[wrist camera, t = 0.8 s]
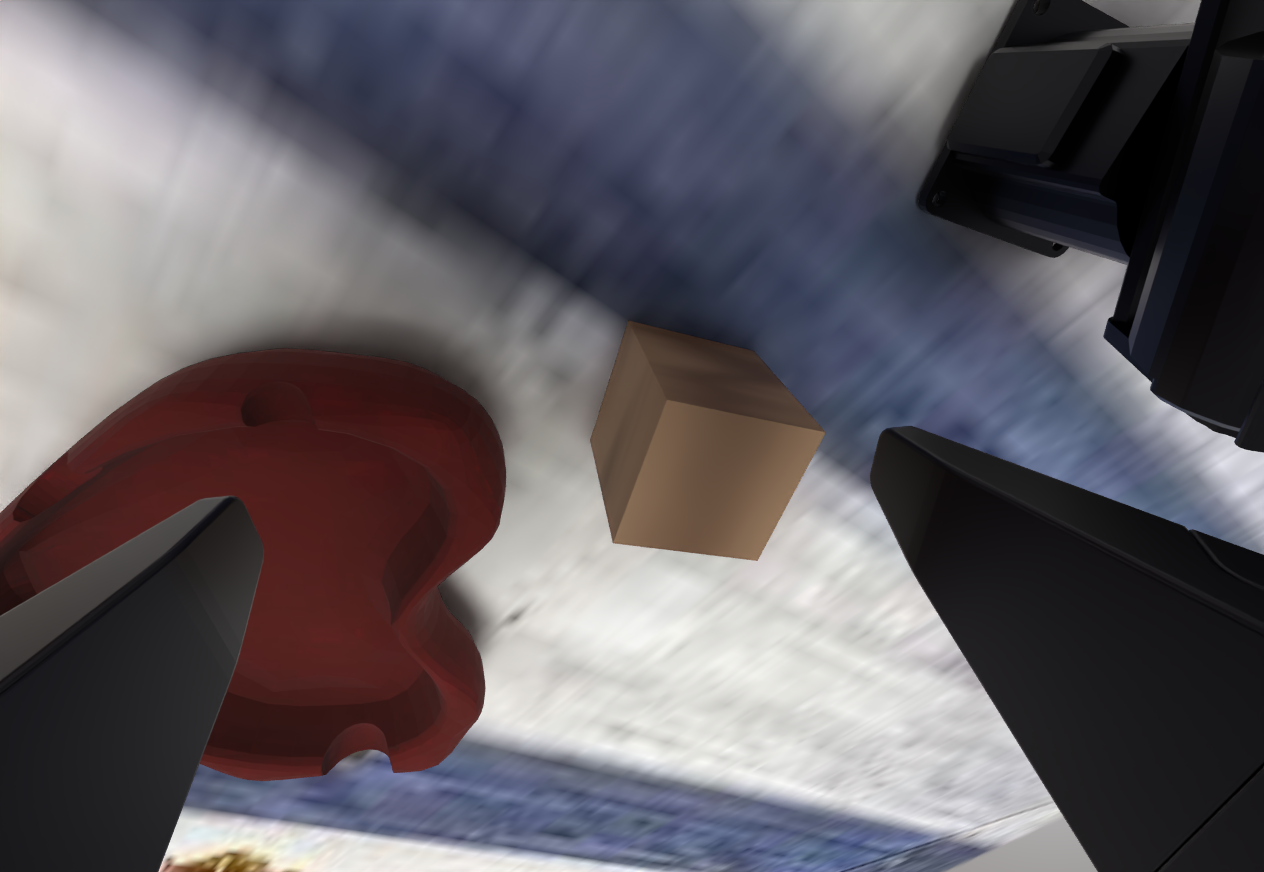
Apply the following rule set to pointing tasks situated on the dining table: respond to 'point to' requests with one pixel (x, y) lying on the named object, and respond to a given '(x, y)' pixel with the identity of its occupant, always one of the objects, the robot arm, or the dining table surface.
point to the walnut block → (697, 445)
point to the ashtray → (300, 543)
